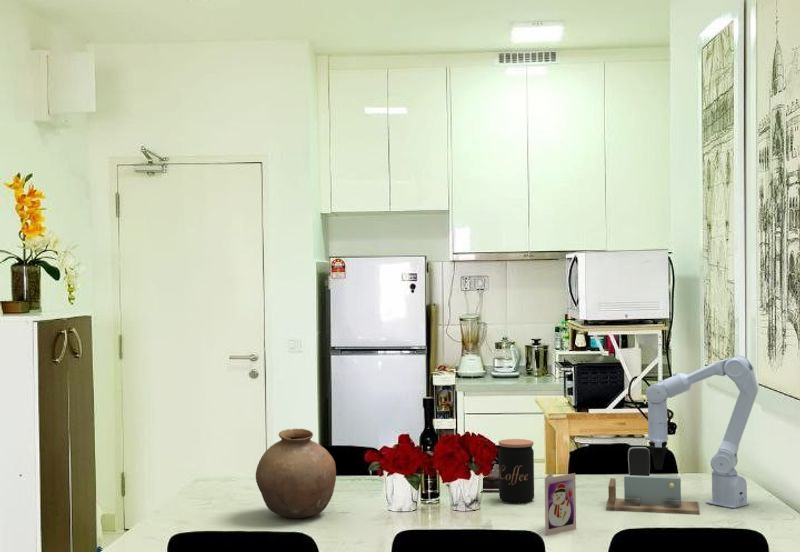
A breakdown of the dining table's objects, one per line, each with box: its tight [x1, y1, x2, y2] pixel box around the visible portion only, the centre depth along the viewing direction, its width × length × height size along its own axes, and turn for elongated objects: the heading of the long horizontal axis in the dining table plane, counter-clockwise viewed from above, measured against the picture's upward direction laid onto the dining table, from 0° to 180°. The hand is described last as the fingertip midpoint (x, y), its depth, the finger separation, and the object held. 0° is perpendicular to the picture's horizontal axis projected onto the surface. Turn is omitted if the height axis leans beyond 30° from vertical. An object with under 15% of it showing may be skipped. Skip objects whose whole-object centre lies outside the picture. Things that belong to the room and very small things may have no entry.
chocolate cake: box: [482, 463, 499, 493], centre depth 327 cm, size 28×28×7 cm
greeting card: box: [544, 470, 577, 536], centre depth 265 cm, size 11×7×15 cm, turn 126°
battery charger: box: [627, 446, 651, 476], centre depth 328 cm, size 7×4×11 cm, turn 85°
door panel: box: [623, 474, 682, 506], centre depth 289 cm, size 16×4×8 cm, turn 75°
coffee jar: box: [498, 438, 535, 505], centre depth 301 cm, size 11×11×18 cm
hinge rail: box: [605, 477, 700, 515], centre depth 289 cm, size 26×12×7 cm, turn 75°
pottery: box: [255, 428, 337, 519], centre depth 284 cm, size 23×23×25 cm
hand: (658, 467), depth 302 cm, fingers open, 7 cm apart
